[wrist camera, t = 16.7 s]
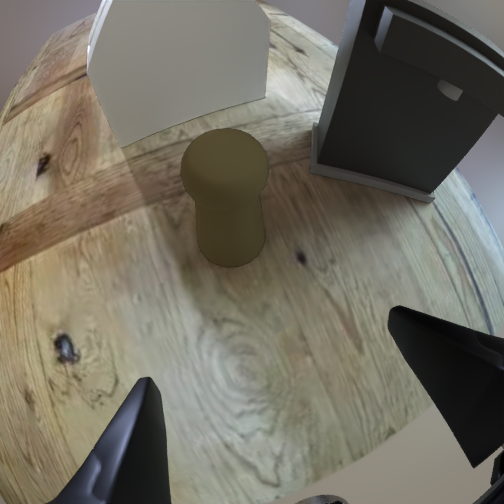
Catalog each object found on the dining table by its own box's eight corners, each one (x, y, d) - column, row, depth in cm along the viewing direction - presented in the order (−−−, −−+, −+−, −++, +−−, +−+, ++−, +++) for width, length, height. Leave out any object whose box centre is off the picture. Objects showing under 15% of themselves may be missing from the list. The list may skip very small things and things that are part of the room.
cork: (279, 232, 24) (301, 146, 14) (233, 281, 23) (224, 217, 12) (229, 194, 26) (222, 102, 16) (183, 237, 24) (146, 156, 14)
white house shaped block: (121, 148, 28) (50, -38, 5) (109, 91, 33) (69, -38, 10) (265, 97, 32) (278, -80, 8) (221, 54, 36) (217, -74, 13)
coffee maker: (433, 222, 25) (546, 101, 7) (307, 192, 26) (370, -10, 7) (420, 159, 29) (493, 42, 10) (311, 129, 30) (348, -28, 11)
